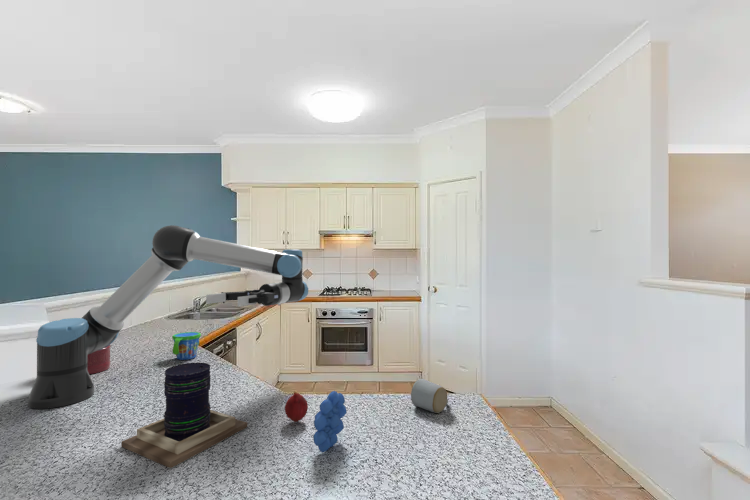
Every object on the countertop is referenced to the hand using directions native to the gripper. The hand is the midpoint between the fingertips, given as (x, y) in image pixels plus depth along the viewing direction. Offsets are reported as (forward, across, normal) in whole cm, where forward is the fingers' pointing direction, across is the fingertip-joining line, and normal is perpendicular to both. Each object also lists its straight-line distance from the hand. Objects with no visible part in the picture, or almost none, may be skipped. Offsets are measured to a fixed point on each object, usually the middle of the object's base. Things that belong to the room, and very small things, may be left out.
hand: (222, 300), depth 107 cm
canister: (+3, +70, -30) cm, 76 cm away
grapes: (+6, -42, -30) cm, 52 cm away
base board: (+18, -10, -30) cm, 36 cm away
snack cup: (-25, +53, -30) cm, 66 cm away
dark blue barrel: (+18, -10, -29) cm, 35 cm away
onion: (0, -28, -30) cm, 41 cm away
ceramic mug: (-25, -56, -30) cm, 69 cm away
